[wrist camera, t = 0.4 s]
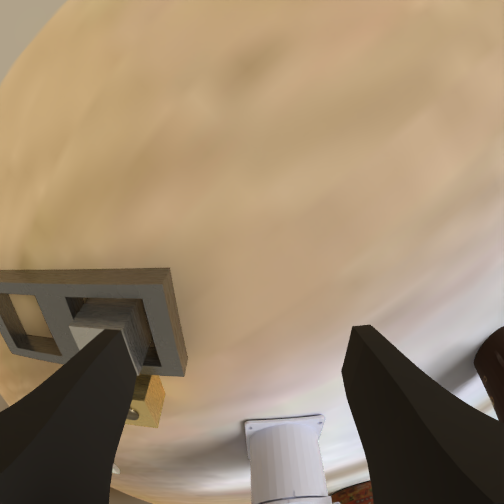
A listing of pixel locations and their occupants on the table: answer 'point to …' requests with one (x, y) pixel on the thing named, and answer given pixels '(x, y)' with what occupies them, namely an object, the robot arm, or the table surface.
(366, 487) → the food container
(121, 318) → the cube with domed knob
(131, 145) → the table surface
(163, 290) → the grey rectangular slotted frame
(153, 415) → the tan wooden cube
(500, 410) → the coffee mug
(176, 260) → the table surface
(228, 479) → the table surface
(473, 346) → the table surface
